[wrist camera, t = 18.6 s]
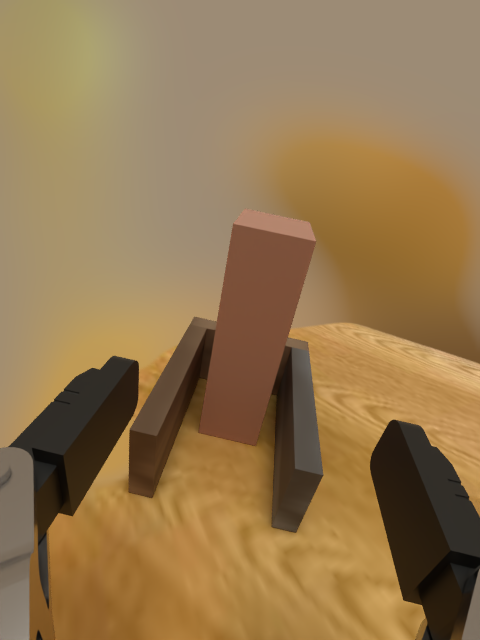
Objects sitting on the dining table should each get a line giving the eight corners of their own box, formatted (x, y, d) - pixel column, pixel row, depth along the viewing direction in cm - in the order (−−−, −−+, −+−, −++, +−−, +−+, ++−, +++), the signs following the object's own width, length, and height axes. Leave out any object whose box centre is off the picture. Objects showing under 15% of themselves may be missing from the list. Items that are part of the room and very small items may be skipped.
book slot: (292, 388, 31) (307, 342, 28) (295, 532, 19) (323, 475, 17) (188, 364, 31) (194, 316, 29) (128, 492, 19) (129, 429, 17)
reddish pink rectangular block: (260, 397, 29) (309, 222, 22) (255, 445, 24) (316, 241, 17) (212, 386, 29) (244, 208, 22) (198, 432, 24) (233, 223, 17)
